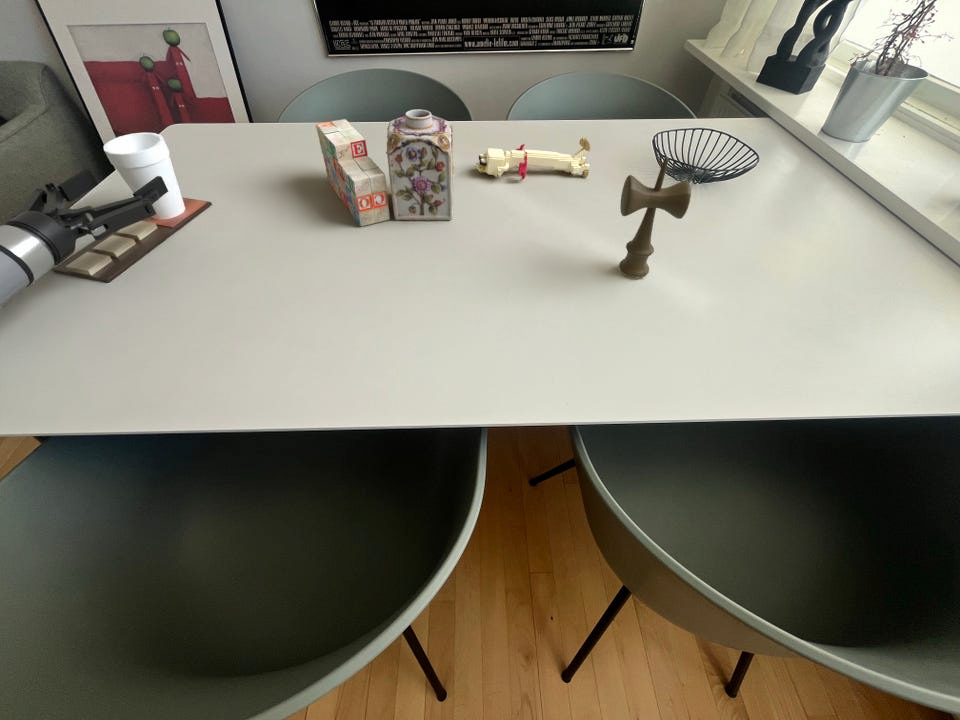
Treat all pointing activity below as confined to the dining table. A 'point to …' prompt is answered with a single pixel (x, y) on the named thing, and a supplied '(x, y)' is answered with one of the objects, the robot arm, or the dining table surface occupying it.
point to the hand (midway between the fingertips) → (127, 180)
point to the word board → (127, 245)
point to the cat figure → (533, 160)
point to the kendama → (649, 216)
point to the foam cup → (147, 168)
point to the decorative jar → (421, 166)
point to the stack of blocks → (353, 172)
